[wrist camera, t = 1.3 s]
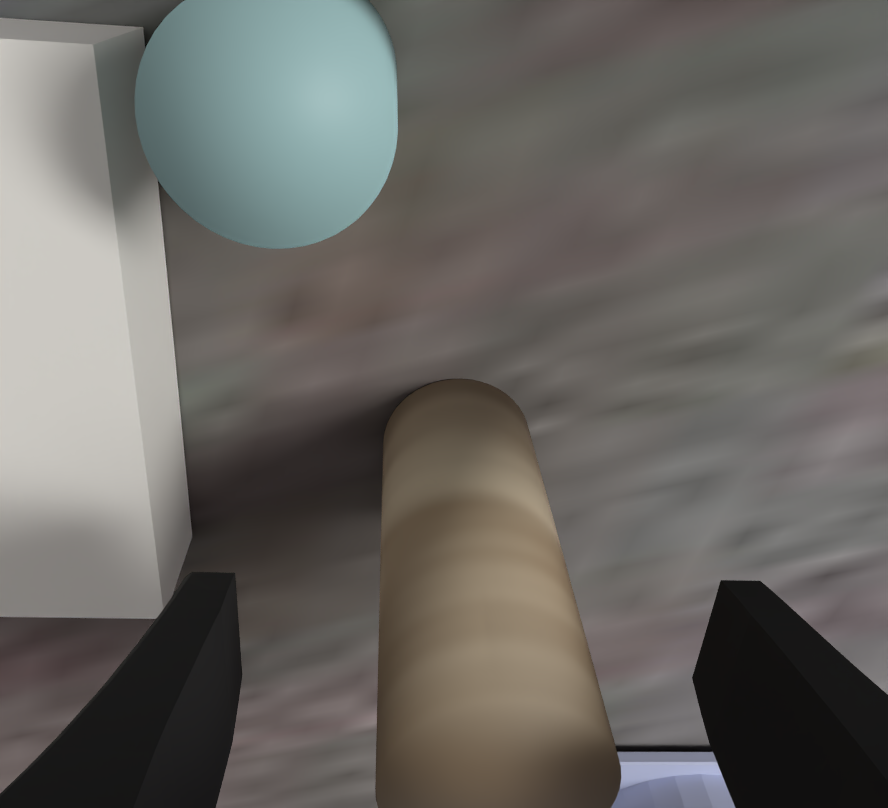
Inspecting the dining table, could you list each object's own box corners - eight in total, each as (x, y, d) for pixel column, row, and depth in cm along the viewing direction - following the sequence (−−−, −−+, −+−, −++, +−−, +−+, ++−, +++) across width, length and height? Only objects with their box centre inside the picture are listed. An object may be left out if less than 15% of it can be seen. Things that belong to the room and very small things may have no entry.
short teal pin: (393, 169, 14) (393, 253, 11) (216, 159, 14) (148, 242, 10) (400, -26, 13) (403, -13, 9) (203, -41, 13) (119, -31, 9)
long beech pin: (520, 505, 18) (601, 863, 11) (380, 502, 18) (372, 865, 11) (537, 381, 17) (641, 702, 10) (385, 376, 16) (378, 700, 9)
